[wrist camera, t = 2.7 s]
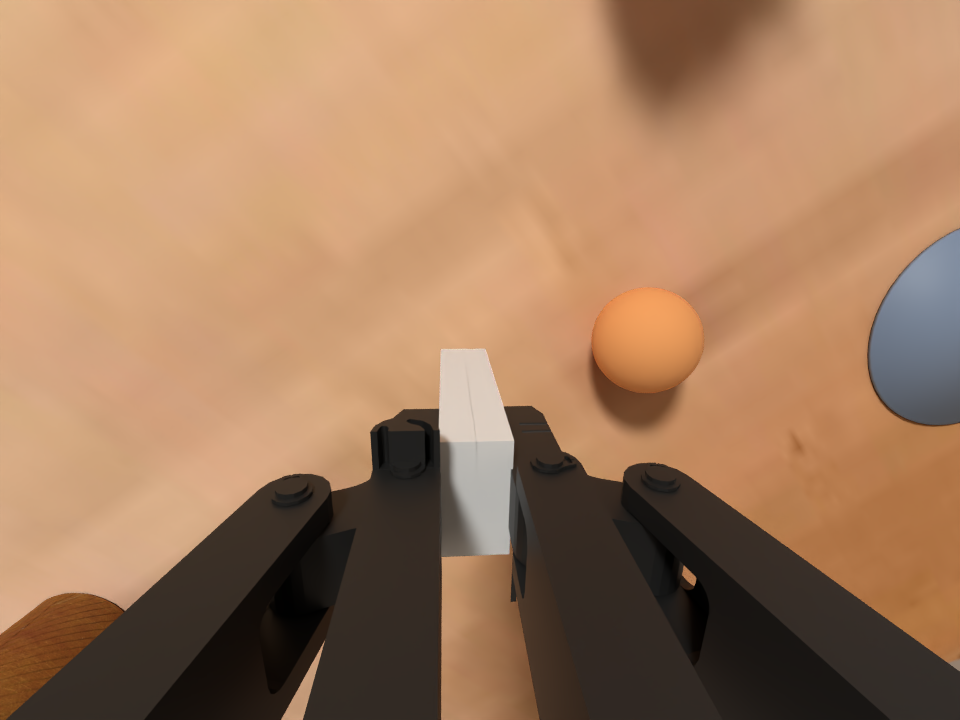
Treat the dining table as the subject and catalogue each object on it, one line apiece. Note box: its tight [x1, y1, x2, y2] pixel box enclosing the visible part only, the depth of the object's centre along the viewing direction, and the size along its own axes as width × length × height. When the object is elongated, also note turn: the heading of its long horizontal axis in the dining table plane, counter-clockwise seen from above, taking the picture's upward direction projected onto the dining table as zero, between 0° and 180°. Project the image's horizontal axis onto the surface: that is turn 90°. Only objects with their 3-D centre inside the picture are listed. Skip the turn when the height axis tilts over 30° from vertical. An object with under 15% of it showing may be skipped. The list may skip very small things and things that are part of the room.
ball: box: [592, 288, 704, 393], centre depth 23 cm, size 6×6×6 cm
